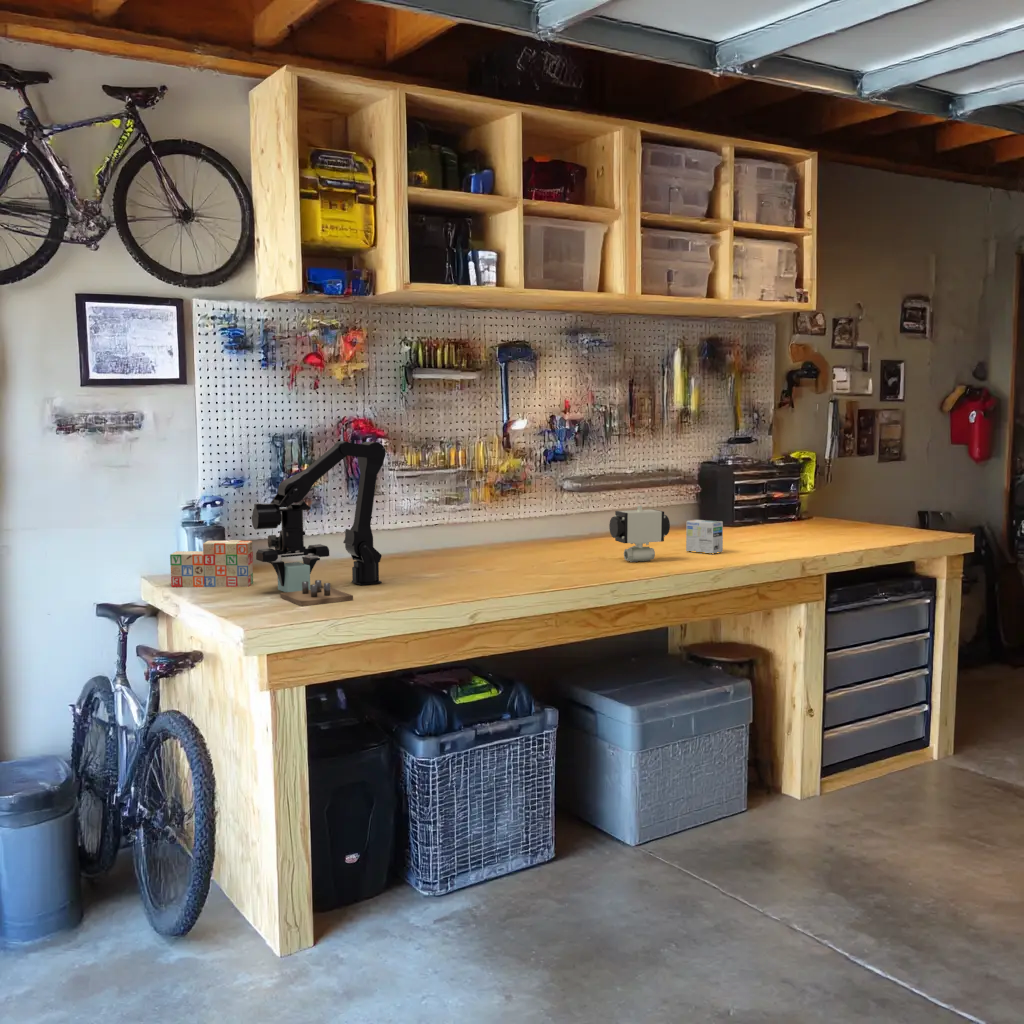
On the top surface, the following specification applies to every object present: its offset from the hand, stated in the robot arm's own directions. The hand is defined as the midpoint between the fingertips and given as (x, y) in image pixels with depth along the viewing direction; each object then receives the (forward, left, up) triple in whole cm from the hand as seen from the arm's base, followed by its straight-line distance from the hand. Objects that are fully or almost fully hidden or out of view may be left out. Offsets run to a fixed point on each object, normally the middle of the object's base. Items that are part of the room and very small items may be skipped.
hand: (293, 584), depth 273 cm
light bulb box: (-141, +12, -2) cm, 142 cm away
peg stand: (0, +15, -2) cm, 15 cm away
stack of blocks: (+15, -21, -2) cm, 26 cm away
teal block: (0, 0, -2) cm, 2 cm away
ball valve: (-110, +14, -2) cm, 111 cm away
